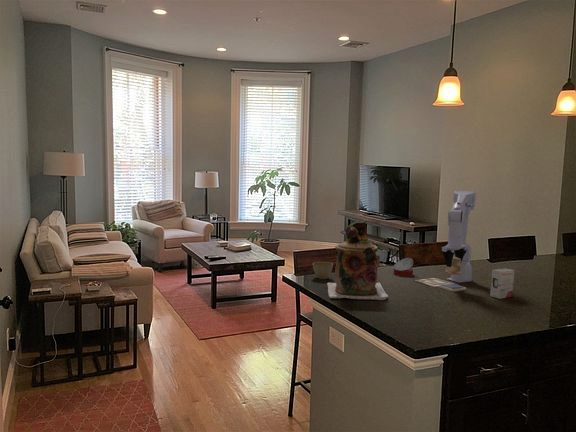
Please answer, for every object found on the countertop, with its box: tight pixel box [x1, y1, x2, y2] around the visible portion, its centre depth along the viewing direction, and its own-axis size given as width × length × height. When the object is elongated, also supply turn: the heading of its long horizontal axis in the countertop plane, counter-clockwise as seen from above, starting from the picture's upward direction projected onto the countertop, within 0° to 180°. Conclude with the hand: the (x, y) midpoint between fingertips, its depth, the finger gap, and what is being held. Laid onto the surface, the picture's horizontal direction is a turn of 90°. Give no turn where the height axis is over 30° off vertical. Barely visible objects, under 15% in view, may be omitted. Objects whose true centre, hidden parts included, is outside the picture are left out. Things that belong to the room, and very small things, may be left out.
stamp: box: [445, 257, 461, 276], centre depth 225 cm, size 5×5×7 cm
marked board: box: [414, 277, 456, 288], centre depth 236 cm, size 13×13×1 cm
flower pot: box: [312, 261, 334, 280], centre depth 242 cm, size 10×10×7 cm
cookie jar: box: [326, 219, 389, 301], centre depth 213 cm, size 25×25×32 cm
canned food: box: [392, 257, 414, 277], centre depth 254 cm, size 11×10×10 cm
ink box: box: [489, 267, 515, 300], centre depth 213 cm, size 9×5×12 cm, turn 116°
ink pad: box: [439, 283, 467, 292], centre depth 226 cm, size 8×8×1 cm
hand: (453, 266), depth 225 cm, fingers closed on stamp, 6 cm apart
